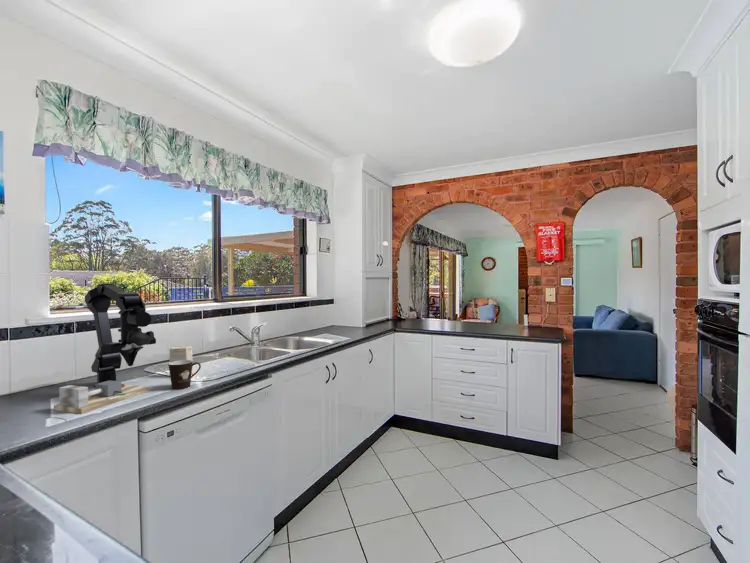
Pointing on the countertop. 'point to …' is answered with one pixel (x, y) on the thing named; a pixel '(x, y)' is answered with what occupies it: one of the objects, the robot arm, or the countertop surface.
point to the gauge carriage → (106, 388)
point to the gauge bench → (92, 398)
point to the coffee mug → (181, 373)
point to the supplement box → (181, 354)
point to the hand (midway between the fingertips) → (130, 366)
